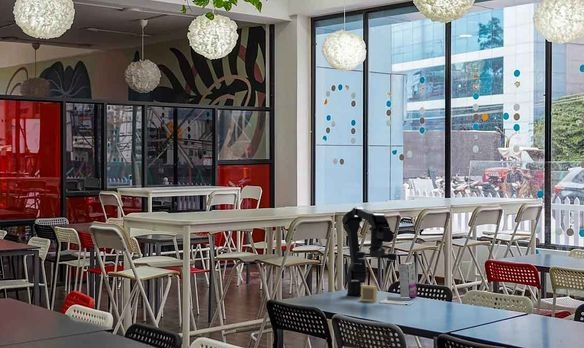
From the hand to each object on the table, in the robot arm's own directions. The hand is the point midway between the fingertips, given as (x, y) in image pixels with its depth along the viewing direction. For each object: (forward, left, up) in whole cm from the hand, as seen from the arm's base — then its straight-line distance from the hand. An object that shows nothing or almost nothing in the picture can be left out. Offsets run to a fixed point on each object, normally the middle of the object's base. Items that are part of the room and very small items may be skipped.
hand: (375, 274), depth 402 cm
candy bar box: (+12, +21, -12) cm, 27 cm away
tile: (-2, -2, -12) cm, 13 cm away
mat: (+11, +1, -12) cm, 16 cm away
